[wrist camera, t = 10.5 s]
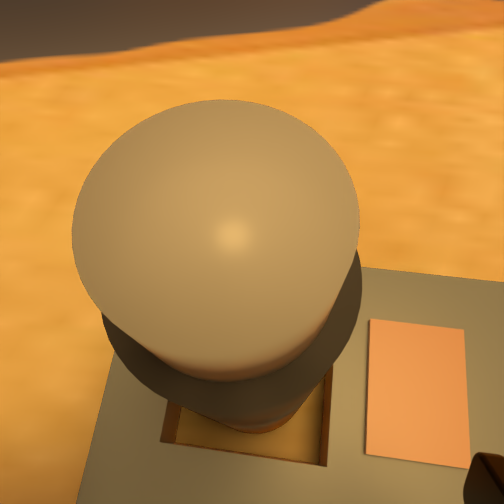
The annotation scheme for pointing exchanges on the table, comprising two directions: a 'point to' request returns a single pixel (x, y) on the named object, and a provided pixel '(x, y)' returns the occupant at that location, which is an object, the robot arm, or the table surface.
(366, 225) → the table surface
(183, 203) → the grey and beige cylinder
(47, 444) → the table surface
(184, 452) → the socket plate
